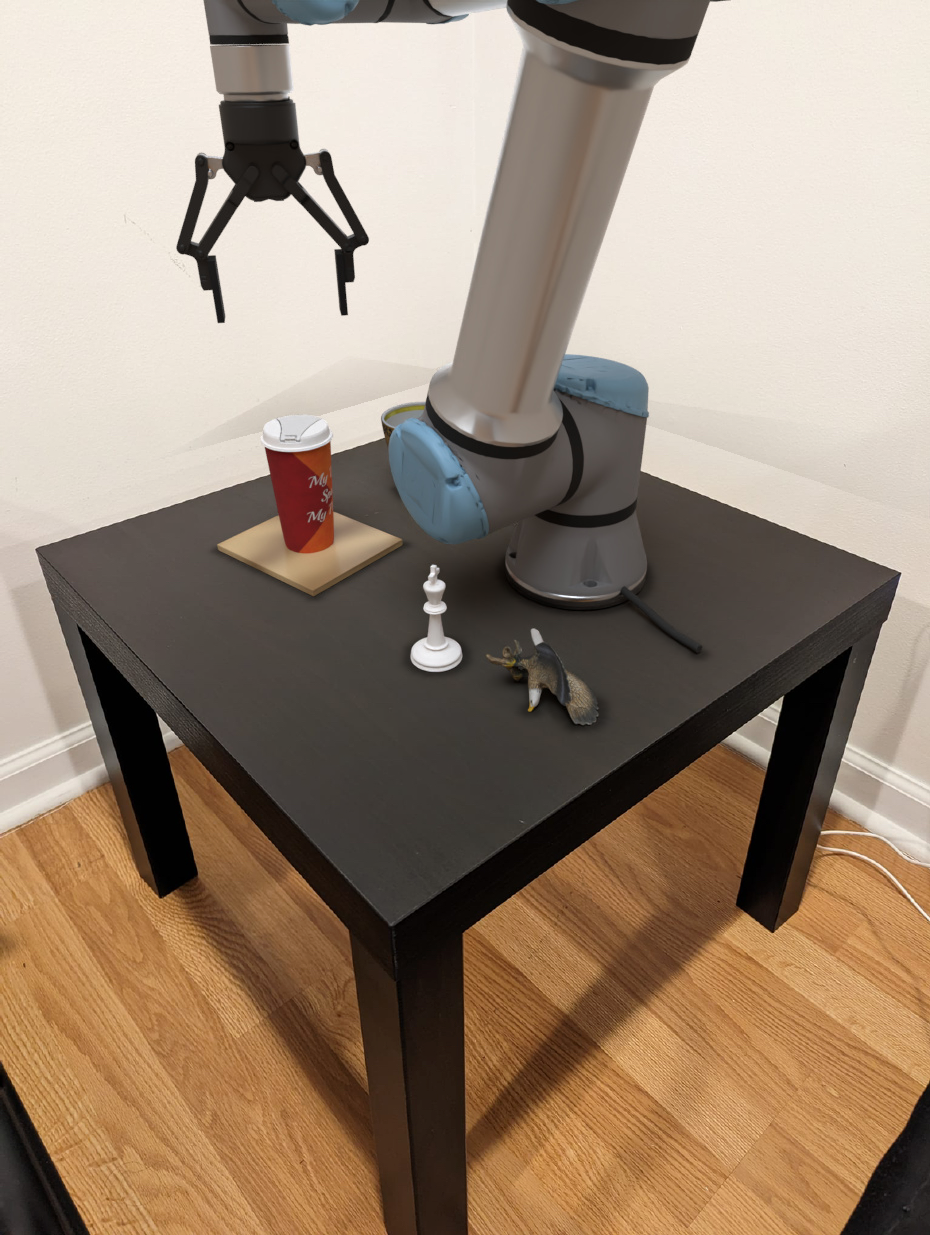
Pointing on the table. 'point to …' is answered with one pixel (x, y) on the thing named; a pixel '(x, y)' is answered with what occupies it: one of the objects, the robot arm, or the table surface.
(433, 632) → the chess piece
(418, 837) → the table surface
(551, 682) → the eagle figurine
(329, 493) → the paper cup
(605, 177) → the robot arm
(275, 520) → the birch board
